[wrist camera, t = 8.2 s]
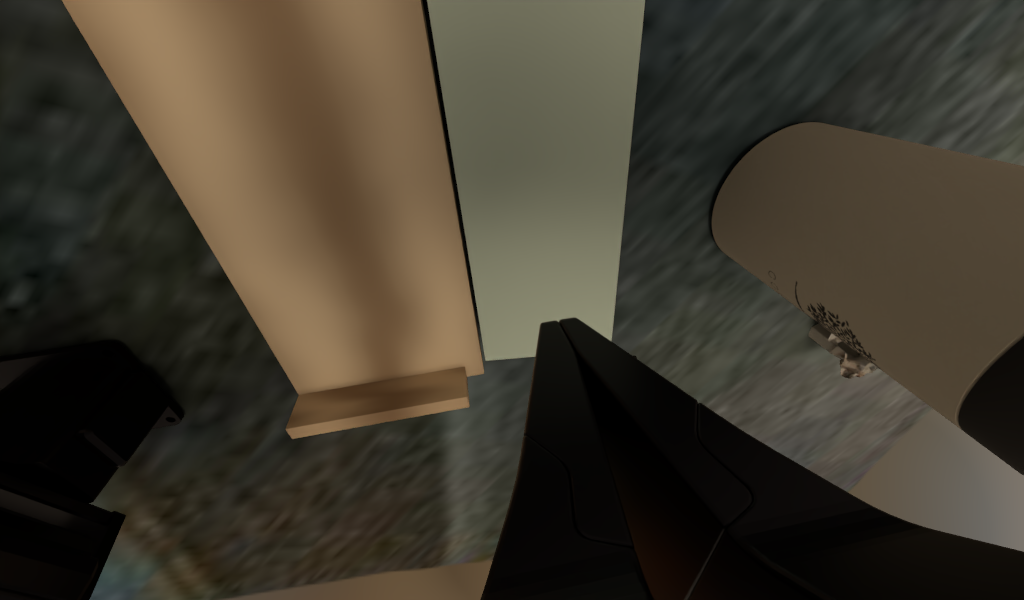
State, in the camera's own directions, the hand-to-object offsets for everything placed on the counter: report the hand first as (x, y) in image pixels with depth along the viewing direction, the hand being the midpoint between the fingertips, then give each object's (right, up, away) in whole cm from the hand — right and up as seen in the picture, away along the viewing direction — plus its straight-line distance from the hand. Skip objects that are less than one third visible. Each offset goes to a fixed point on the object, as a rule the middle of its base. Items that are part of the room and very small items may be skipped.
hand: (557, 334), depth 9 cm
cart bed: (-9, +6, +9) cm, 14 cm away
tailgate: (-3, +5, +7) cm, 9 cm away
